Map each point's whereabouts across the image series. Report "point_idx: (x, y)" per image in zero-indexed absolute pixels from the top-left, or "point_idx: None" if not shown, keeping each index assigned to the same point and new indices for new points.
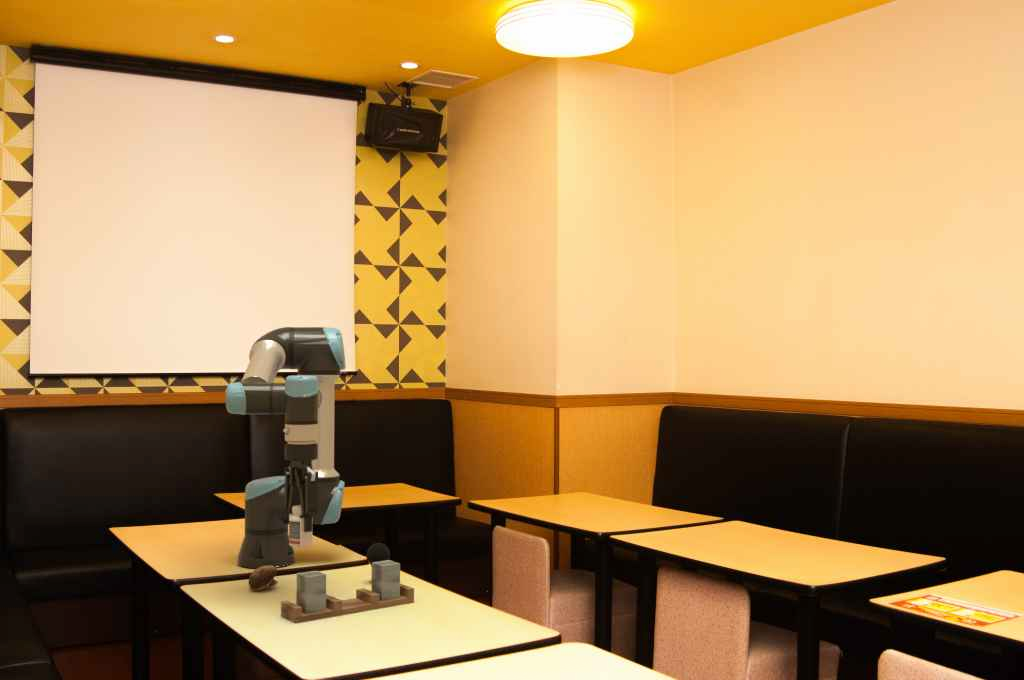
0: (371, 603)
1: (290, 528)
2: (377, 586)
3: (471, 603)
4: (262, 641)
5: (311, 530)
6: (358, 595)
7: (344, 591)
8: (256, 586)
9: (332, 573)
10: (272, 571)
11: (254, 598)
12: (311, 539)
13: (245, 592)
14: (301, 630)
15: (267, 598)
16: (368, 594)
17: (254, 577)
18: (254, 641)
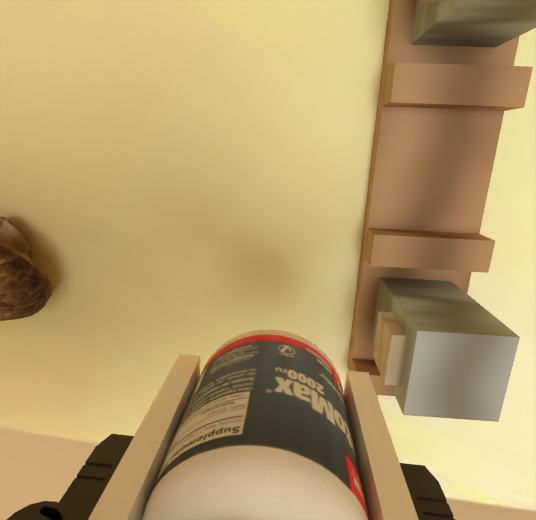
0: (503, 110)
1: None
2: (484, 31)
3: None
4: (517, 495)
5: (432, 477)
6: (404, 105)
7: (195, 45)
8: (42, 307)
9: None
10: (12, 272)
11: (116, 332)
12: (375, 401)
13: (32, 320)
14: (512, 393)
15: (137, 304)
16: (495, 106)
17: (9, 319)
18: (502, 505)
